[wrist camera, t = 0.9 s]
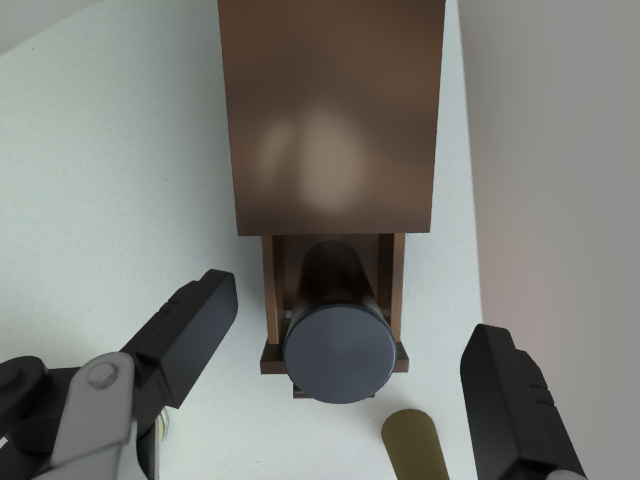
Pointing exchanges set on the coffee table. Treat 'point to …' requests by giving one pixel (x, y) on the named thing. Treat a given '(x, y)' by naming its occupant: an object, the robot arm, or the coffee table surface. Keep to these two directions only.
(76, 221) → the coffee table surface
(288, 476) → the coffee table surface
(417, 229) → the cabinet
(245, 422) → the coffee table surface
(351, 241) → the drawer
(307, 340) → the slate tube
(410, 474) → the pepper shaker
